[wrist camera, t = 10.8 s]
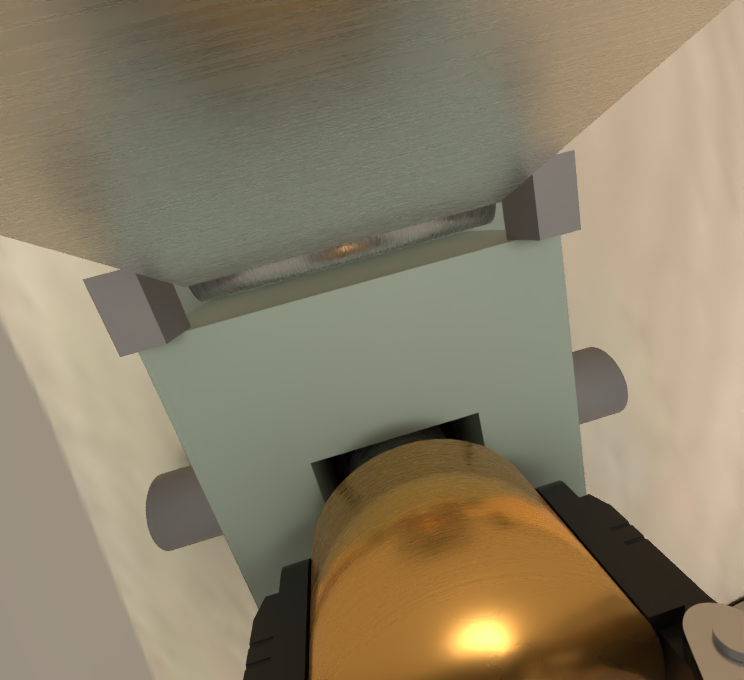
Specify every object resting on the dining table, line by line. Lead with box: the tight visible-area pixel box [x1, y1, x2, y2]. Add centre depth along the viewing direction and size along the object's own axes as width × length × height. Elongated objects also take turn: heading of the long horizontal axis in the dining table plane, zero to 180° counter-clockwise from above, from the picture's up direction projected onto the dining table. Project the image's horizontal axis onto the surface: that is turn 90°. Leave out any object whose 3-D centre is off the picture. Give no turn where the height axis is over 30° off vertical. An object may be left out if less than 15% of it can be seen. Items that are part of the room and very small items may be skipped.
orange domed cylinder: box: [309, 425, 665, 680], centre depth 11 cm, size 6×6×10 cm
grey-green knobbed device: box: [83, 150, 628, 609], centre depth 14 cm, size 18×18×8 cm
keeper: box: [0, 0, 734, 302], centre depth 5 cm, size 7×1×8 cm, turn 104°
